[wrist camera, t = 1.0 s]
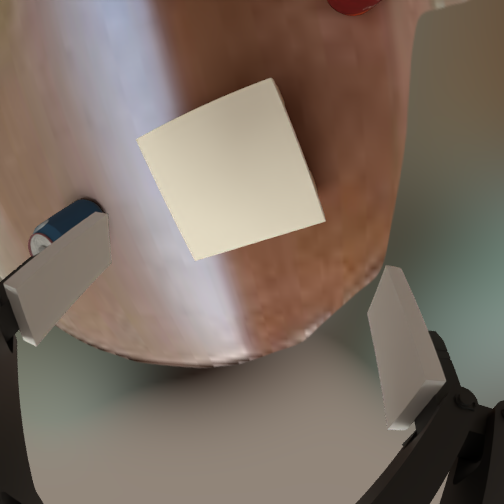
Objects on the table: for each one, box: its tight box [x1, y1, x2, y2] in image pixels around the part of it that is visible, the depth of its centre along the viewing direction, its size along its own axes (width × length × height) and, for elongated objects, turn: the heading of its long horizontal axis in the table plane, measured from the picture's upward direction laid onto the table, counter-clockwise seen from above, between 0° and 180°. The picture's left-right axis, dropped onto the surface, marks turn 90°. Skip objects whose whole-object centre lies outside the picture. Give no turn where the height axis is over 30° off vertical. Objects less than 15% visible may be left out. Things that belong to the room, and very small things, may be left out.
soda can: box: [28, 199, 103, 257], centre depth 40 cm, size 7×7×12 cm
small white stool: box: [136, 78, 325, 261], centre depth 33 cm, size 14×14×10 cm
